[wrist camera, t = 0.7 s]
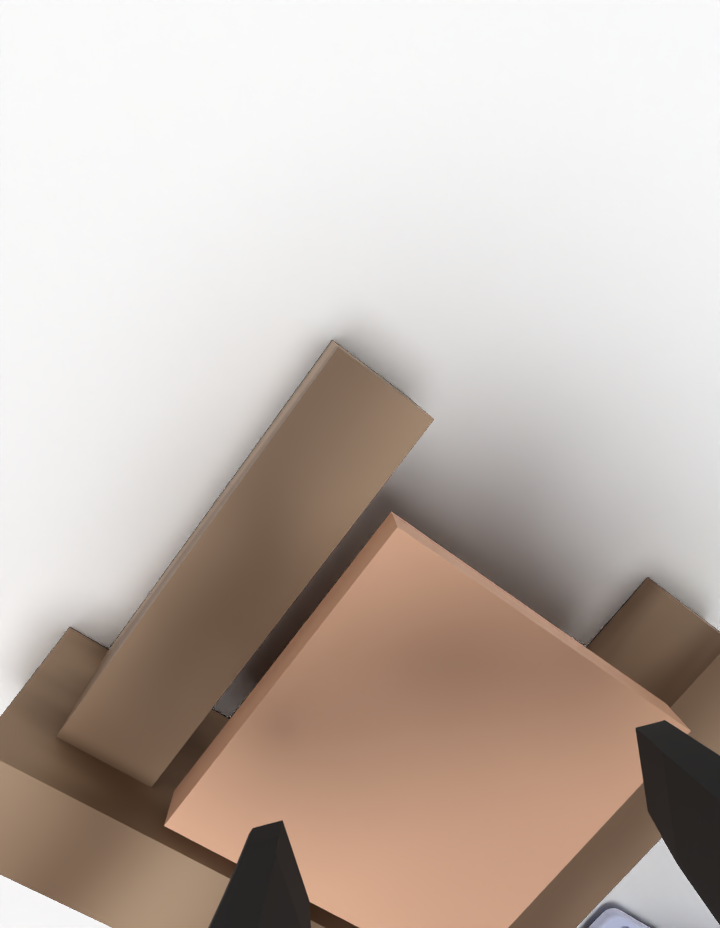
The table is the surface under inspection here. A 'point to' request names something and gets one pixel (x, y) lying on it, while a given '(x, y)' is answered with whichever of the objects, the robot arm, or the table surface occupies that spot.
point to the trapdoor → (423, 746)
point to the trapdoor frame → (230, 648)
